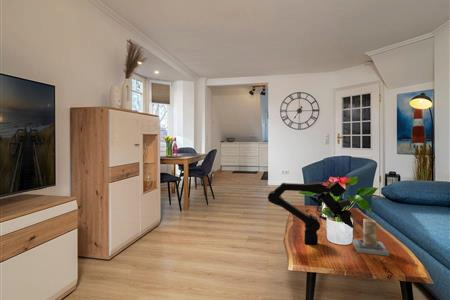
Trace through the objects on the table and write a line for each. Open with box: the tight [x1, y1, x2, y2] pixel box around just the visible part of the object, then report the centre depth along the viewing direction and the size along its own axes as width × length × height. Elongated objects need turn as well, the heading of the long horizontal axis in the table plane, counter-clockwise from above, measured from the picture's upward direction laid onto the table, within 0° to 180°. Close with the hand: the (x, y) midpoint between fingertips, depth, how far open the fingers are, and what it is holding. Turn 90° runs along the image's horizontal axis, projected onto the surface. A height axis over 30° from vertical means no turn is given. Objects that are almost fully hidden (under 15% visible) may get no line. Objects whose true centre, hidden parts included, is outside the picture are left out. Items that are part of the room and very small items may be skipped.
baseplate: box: [351, 238, 390, 257], centre depth 129 cm, size 14×14×2 cm
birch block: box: [362, 218, 377, 247], centre depth 129 cm, size 5×5×13 cm
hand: (349, 225), depth 133 cm, fingers open, 9 cm apart
